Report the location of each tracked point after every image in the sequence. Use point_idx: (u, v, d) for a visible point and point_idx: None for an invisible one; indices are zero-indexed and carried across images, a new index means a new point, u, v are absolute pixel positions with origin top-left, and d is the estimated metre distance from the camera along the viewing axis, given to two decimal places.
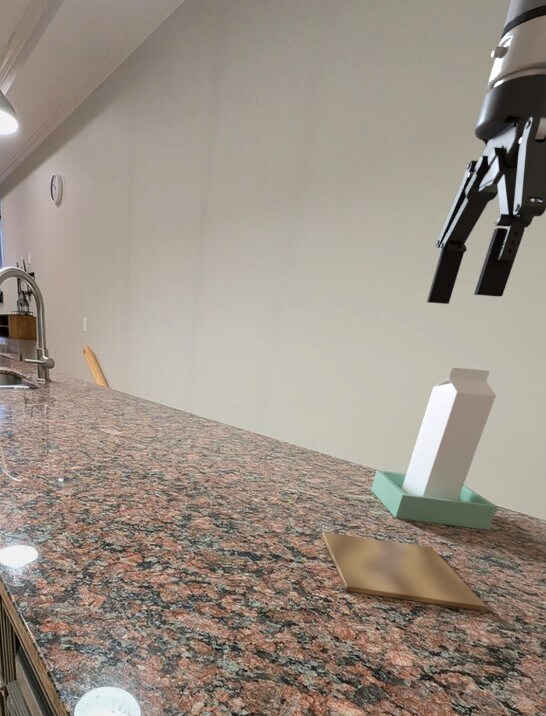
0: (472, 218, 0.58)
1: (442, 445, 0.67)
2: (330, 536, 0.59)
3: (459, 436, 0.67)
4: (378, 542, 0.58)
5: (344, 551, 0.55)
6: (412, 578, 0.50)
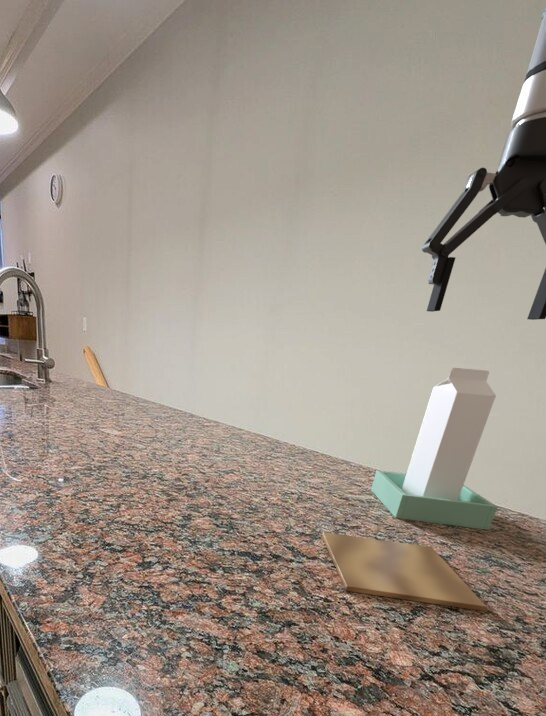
0: None
1: (442, 445, 0.67)
2: (330, 536, 0.59)
3: (459, 436, 0.67)
4: (378, 542, 0.58)
5: (344, 551, 0.55)
6: (412, 578, 0.50)
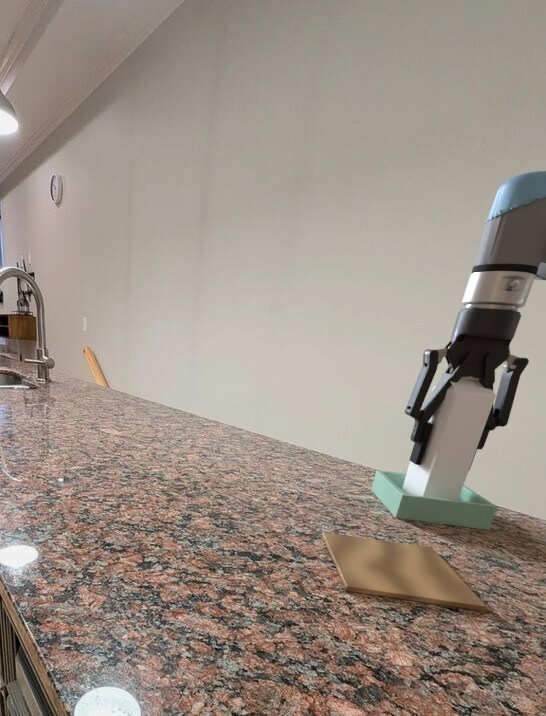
0: None
1: (442, 445, 0.67)
2: (330, 536, 0.59)
3: (459, 437, 0.67)
4: (378, 542, 0.58)
5: (344, 551, 0.55)
6: (412, 578, 0.50)
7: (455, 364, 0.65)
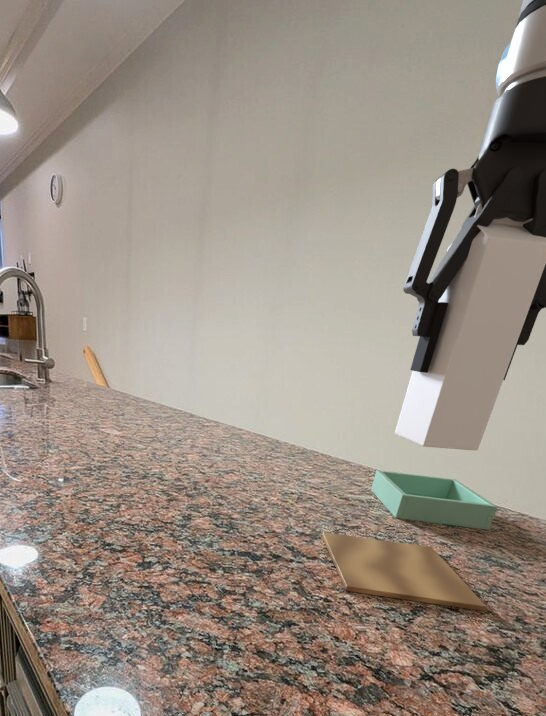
0: None
1: (462, 332, 0.42)
2: (330, 536, 0.59)
3: (491, 318, 0.42)
4: (378, 542, 0.58)
5: (344, 551, 0.55)
6: (412, 578, 0.50)
7: (486, 194, 0.40)
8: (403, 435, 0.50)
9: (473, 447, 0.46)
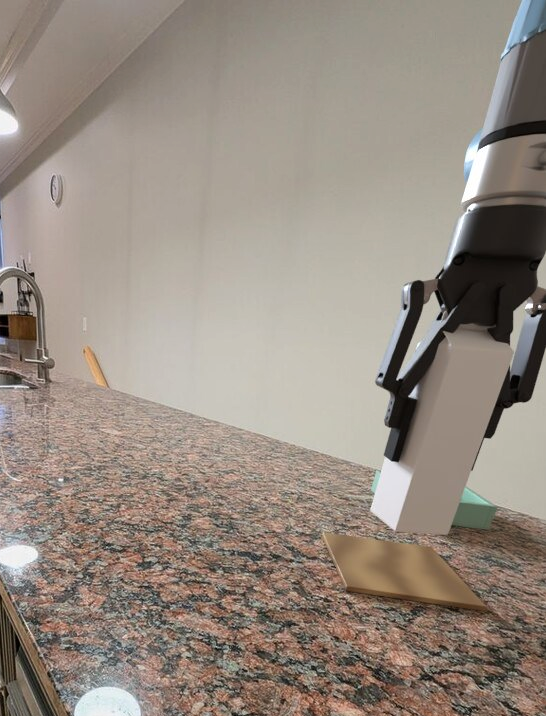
0: None
1: (430, 430, 0.44)
2: (330, 536, 0.59)
3: (457, 418, 0.43)
4: (378, 542, 0.58)
5: (344, 551, 0.55)
6: (412, 578, 0.50)
7: (451, 303, 0.42)
8: (377, 515, 0.52)
9: (443, 532, 0.48)
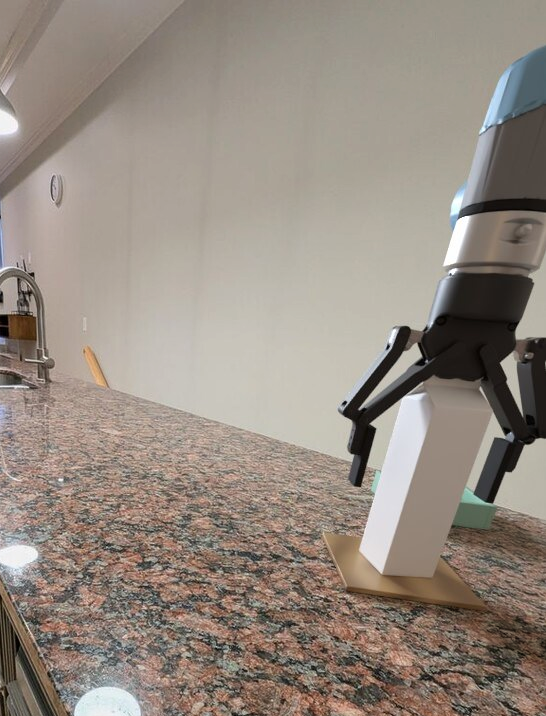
0: None
1: (414, 482, 0.46)
2: (330, 536, 0.59)
3: (439, 471, 0.45)
4: None
5: (344, 551, 0.55)
6: (412, 578, 0.50)
7: None
8: (366, 556, 0.54)
9: (428, 575, 0.50)
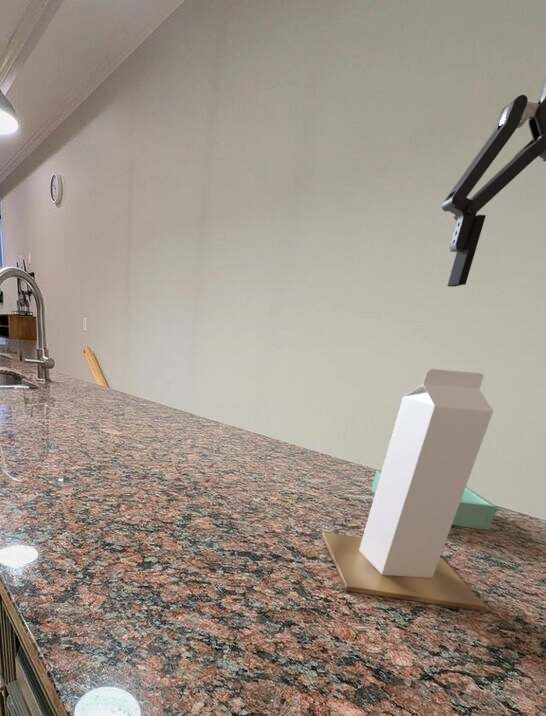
0: None
1: (414, 482, 0.46)
2: (330, 536, 0.59)
3: (439, 471, 0.45)
4: None
5: (344, 551, 0.55)
6: (412, 578, 0.50)
7: None
8: (366, 556, 0.54)
9: (428, 575, 0.50)
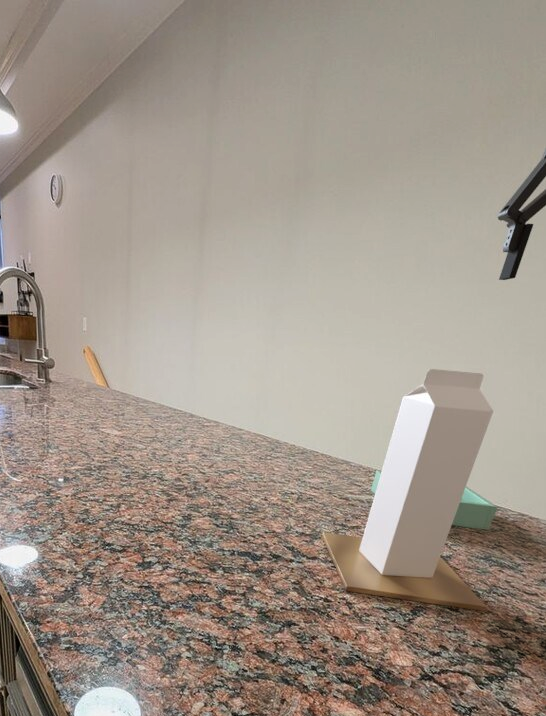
0: None
1: (414, 482, 0.46)
2: (330, 536, 0.59)
3: (439, 471, 0.45)
4: None
5: (344, 551, 0.55)
6: (412, 578, 0.50)
7: None
8: (366, 556, 0.54)
9: (428, 575, 0.50)
